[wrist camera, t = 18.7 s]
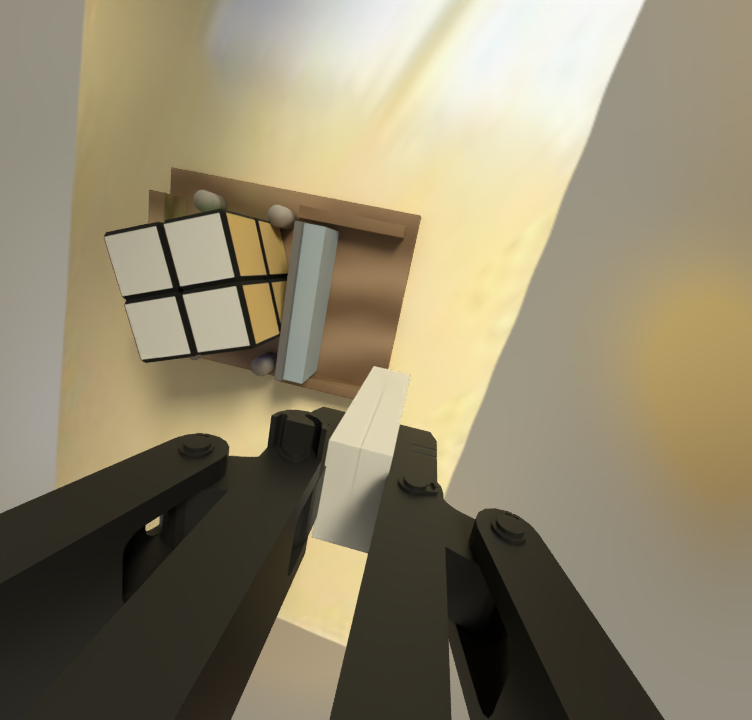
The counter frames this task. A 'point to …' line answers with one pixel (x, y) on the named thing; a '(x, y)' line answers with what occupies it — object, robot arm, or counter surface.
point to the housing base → (349, 279)
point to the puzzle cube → (200, 283)
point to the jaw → (305, 301)
